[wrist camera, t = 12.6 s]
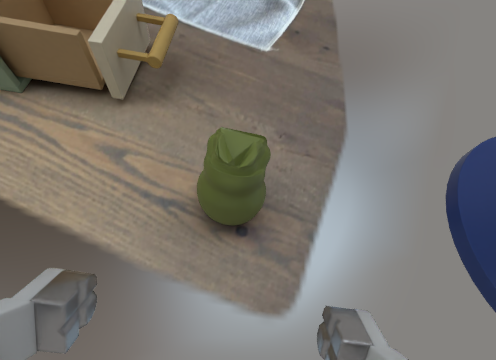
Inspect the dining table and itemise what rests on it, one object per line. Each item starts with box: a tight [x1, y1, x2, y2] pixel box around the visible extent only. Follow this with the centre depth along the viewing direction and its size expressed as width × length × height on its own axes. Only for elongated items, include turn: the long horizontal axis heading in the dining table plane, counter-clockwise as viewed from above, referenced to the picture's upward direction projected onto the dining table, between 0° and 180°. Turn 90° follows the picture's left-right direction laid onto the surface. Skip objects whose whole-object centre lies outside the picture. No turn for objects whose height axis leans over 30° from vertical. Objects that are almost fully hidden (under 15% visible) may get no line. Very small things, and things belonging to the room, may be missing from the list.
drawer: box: [0, 0, 178, 99], centre depth 29 cm, size 16×10×7 cm, turn 83°
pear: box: [197, 127, 271, 225], centre depth 22 cm, size 6×5×10 cm
